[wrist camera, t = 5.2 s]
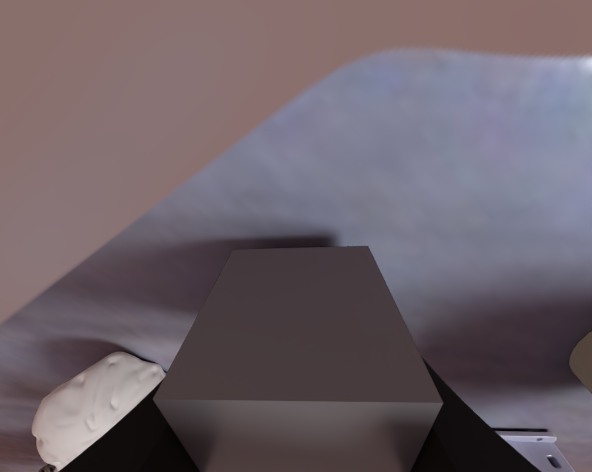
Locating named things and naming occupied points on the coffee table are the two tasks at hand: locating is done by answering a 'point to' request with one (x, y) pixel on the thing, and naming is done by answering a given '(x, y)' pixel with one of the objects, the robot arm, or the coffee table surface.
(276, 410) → the grey matte cube
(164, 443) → the robot arm
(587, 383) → the reusable coffee cup
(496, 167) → the coffee table surface
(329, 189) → the coffee table surface
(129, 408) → the bust
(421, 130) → the coffee table surface
